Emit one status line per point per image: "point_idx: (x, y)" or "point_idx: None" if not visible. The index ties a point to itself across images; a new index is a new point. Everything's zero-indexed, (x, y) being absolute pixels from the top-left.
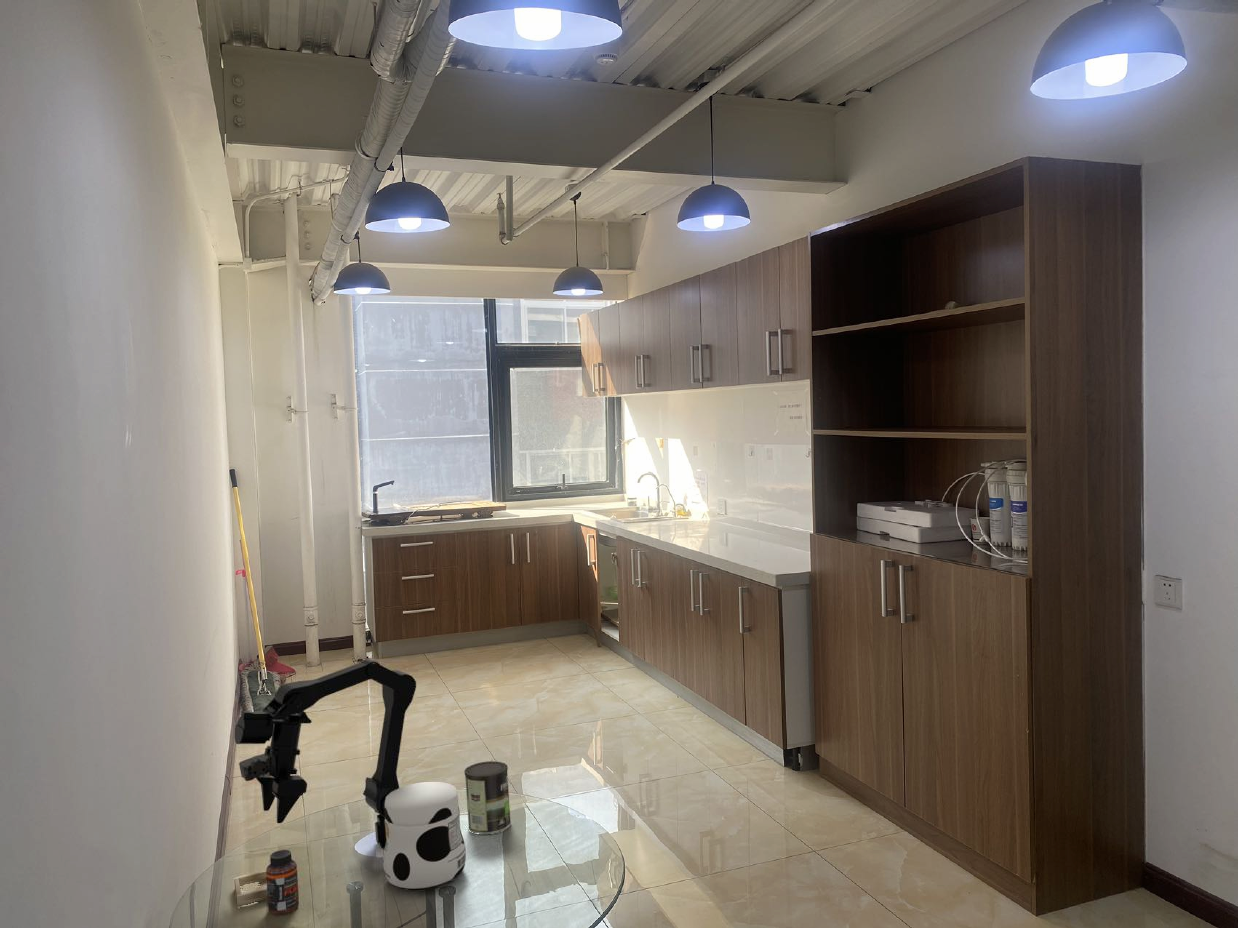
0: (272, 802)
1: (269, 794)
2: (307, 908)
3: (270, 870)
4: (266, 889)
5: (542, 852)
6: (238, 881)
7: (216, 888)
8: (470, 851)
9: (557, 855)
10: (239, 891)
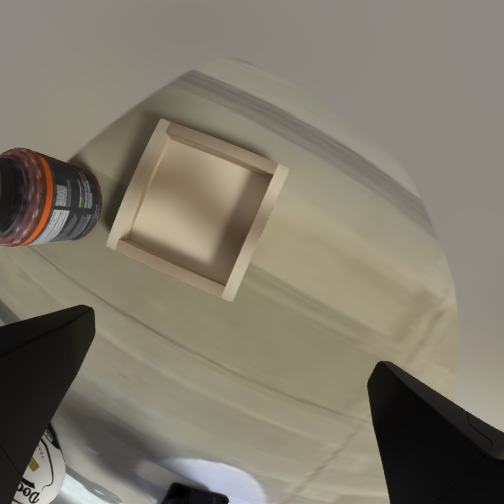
0: (374, 430)
1: (414, 452)
2: None
3: (3, 153)
4: (126, 191)
5: None
6: (251, 163)
7: (331, 151)
8: (64, 498)
9: None
10: (183, 134)
